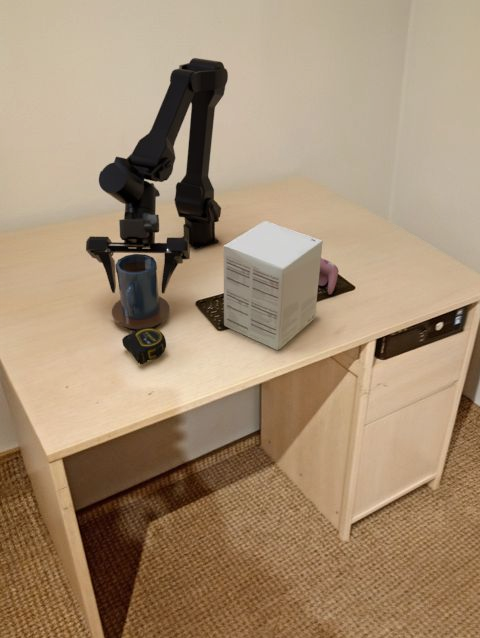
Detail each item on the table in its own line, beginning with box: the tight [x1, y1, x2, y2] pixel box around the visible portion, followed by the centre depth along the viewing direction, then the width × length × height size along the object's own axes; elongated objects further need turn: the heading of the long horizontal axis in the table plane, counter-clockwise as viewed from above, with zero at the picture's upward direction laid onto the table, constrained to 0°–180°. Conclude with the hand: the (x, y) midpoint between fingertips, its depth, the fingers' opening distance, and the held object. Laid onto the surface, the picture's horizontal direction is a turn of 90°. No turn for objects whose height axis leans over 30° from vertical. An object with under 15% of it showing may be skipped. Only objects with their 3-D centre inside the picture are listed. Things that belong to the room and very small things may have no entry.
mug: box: [111, 253, 171, 329], centre depth 115 cm, size 12×11×11 cm
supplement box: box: [223, 220, 324, 351], centre depth 114 cm, size 13×13×18 cm
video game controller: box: [318, 257, 339, 295], centre depth 129 cm, size 10×5×7 cm, turn 71°
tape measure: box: [121, 328, 167, 366], centre depth 109 cm, size 7×7×4 cm
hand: (138, 292), depth 114 cm, fingers open, 9 cm apart
